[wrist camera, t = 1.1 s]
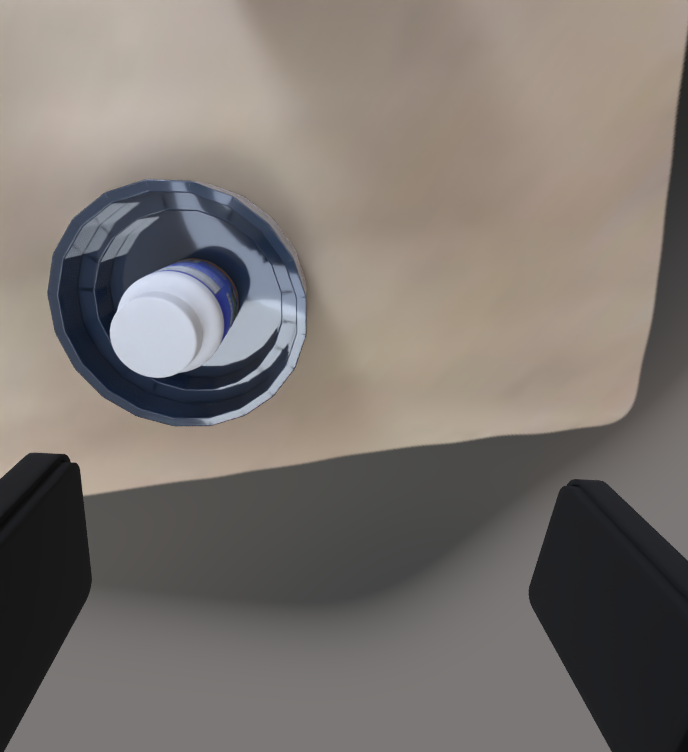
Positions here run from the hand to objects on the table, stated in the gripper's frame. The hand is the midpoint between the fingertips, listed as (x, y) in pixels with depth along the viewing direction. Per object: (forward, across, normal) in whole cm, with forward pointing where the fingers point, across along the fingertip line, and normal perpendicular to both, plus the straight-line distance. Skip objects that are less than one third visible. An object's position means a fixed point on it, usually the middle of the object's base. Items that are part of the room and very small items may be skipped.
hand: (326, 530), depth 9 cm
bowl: (+24, +7, +1) cm, 25 cm away
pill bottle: (+24, +7, +1) cm, 25 cm away
